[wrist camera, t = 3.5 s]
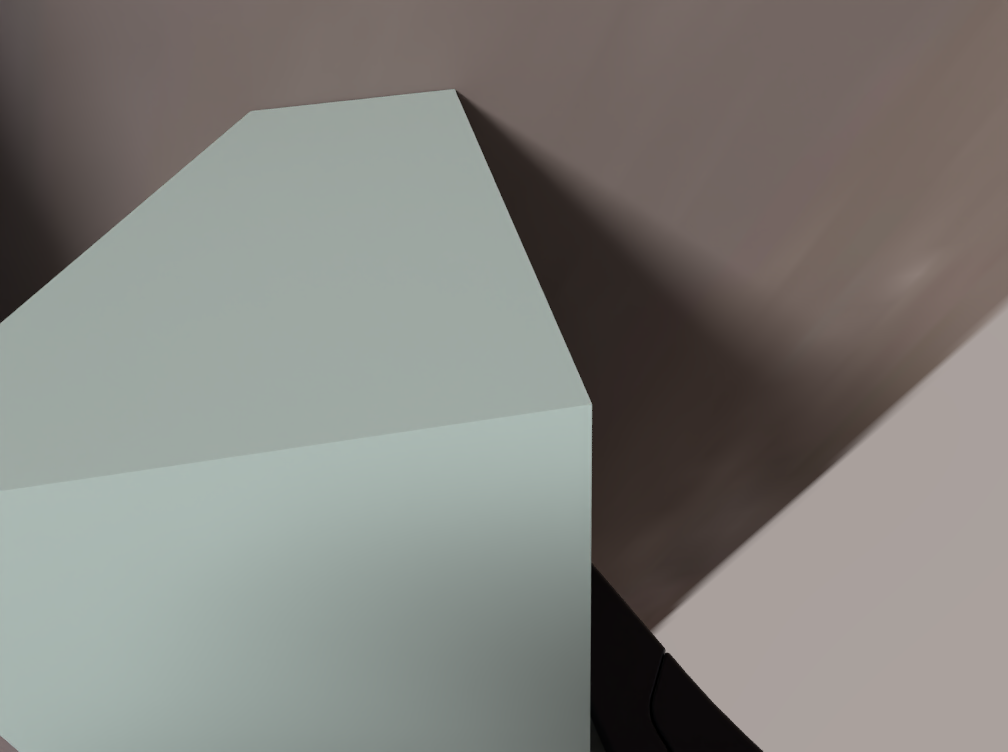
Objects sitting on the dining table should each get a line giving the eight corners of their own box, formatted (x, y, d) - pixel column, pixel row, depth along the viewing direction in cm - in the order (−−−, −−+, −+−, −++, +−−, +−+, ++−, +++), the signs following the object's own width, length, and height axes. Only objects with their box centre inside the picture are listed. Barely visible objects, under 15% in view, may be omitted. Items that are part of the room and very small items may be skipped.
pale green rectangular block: (454, 89, 9) (591, 404, 2) (511, 588, 16) (588, 1032, 9) (250, 111, 9) (-239, 526, 2) (397, 607, 15) (391, 1075, 9)
